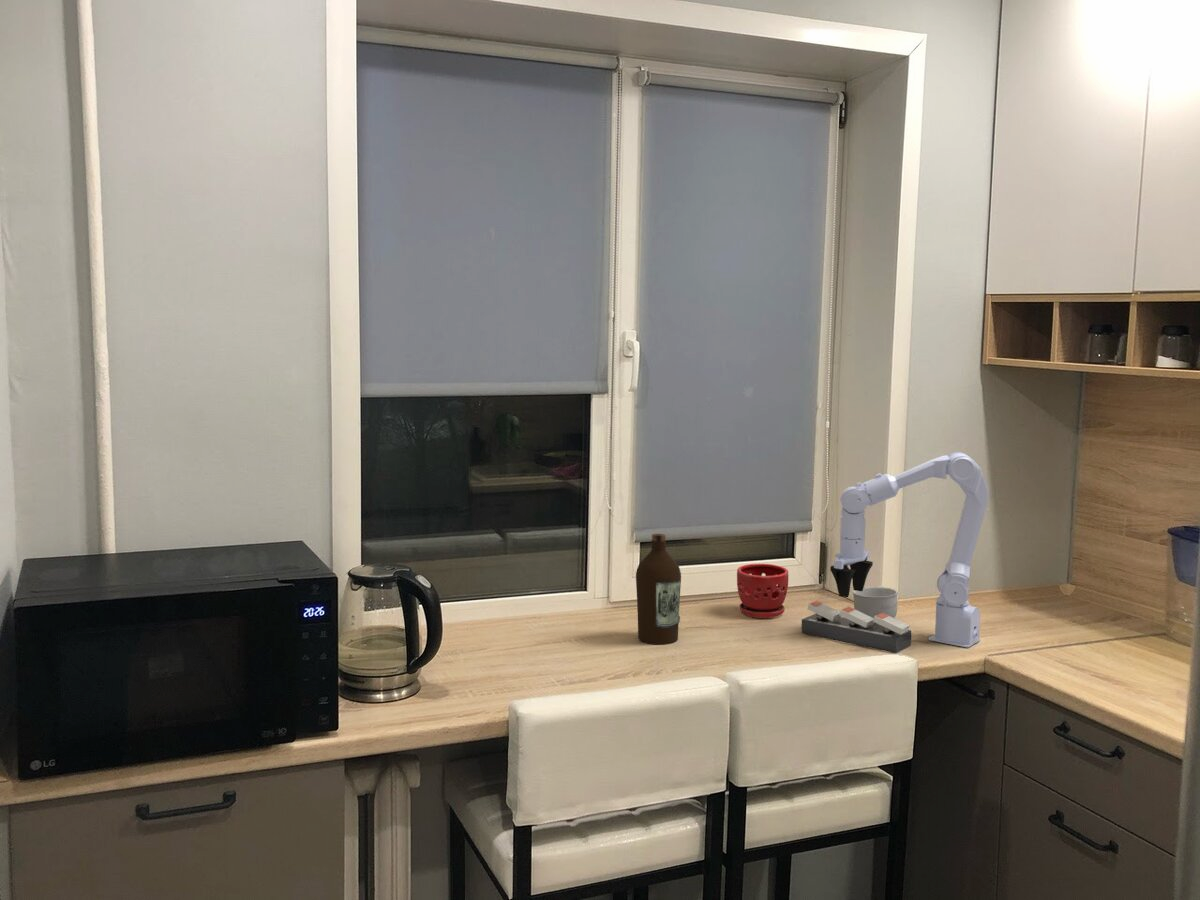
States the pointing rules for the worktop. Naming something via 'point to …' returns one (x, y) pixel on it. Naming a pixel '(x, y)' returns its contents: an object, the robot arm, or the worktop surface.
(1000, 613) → the worktop surface
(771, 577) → the plant pot
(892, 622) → the block
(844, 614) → the block
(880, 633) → the switch panel
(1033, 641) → the worktop surface
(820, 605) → the rocker
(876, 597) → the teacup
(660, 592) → the olive oil
